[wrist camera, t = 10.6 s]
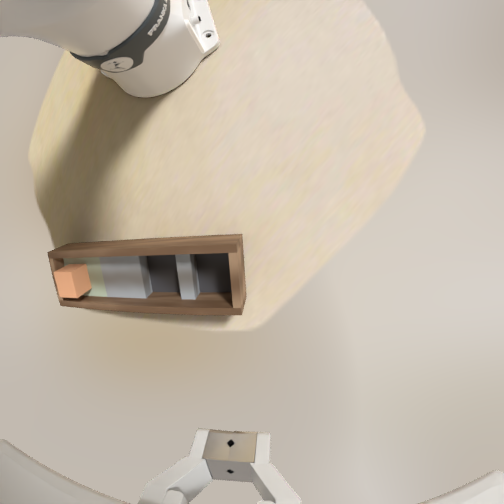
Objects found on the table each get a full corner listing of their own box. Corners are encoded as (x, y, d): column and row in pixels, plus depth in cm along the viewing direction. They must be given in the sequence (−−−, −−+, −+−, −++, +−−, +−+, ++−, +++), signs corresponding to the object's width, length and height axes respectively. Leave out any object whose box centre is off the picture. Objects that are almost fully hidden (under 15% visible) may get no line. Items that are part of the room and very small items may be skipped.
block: (68, 264, 38) (53, 272, 34) (86, 263, 37) (70, 272, 34) (74, 287, 39) (59, 297, 35) (91, 288, 38) (77, 298, 35)
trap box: (68, 243, 40) (47, 252, 35) (242, 234, 37) (236, 244, 32) (78, 293, 43) (60, 305, 37) (246, 296, 40) (241, 315, 34)
